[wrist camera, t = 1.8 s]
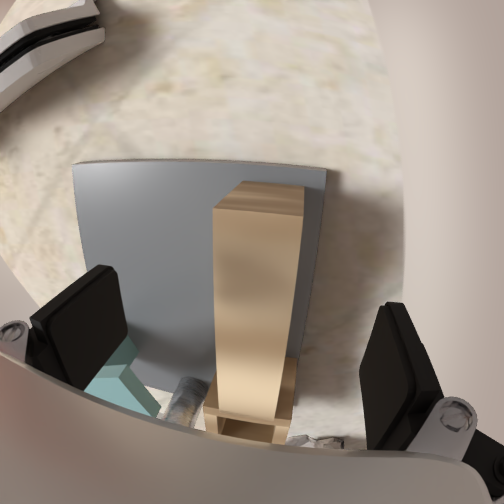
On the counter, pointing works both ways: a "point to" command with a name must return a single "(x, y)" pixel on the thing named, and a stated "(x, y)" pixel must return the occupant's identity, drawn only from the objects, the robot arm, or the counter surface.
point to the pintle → (186, 402)
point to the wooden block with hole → (254, 310)
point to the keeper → (123, 382)
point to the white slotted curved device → (45, 46)
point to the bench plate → (179, 252)
